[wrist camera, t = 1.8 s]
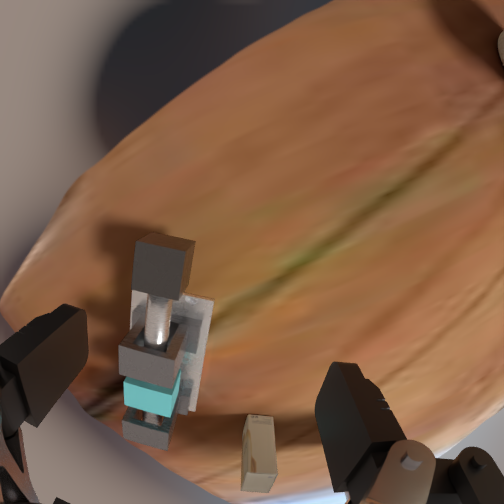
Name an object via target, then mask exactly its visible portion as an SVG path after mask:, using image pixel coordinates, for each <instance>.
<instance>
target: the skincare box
mask: <svg viewBox="0 0 504 504" xmlns="http://www.w3.org/2000/svg"><path fill="white" fill-rule="evenodd" d="M277 475H278V471H277V458H276V446H275V434H274V422H273V417H270V416H261V415H250V414H248V416H247V419H246V422H245V426H244V430H243V435H242V465H241V491H248V492H261V493H269V491H270V489H271V487H272V486H273V484H274V481H275V479H276V477H277Z"/></svg>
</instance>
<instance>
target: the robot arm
mask: <svg viewBox="0 0 504 504" xmlns="http://www.w3.org/2000/svg"><path fill="white" fill-rule="evenodd" d="M88 351H89V350H88V334H87V315H86V312H85V310H83V309H80V308H77V307H74V306H71V305H68V304H62V305H61V306H59V307H58V308H57V309H55V310H54V311H53V312H51V313H47V314H44V315H42V316H39V317H36V318H35V319H33V320H32V321H31V322H29V323H28V324H27V326H24V327H23V328H21V329H20V330H19V332H16V333H15V334H13V335H12V336H11V337H9V338H8V339H7V340H6V341H5V342H3V343H2V344H1V345H0V504H40V502H39V500H38V497H37V495H36V493H35V491H34V489H33V487H32V484H31V481H30V477H29V472H28V467H27V462H26V456H25V450H24V443H23V436H22V430H21V428H20V425H21V424H22V423H23V422H24V421H26V422H27V423H29V424H31V425H33V426H35V427H36V428H37V427H38V426H39V424H40V423H41V422H42V420H43V419H44V418H45V416H46V415H47V414H48V412H49V411H50V409H51V408H52V407H53V405H54V404H55V403H56V402H57V400H58V399H59V398H60V397H61V395H62V394H63V392H64V391H65V390H66V389H67V388H68V386H69V385H70V384H71V382H72V381H73V380H74V379H75V377H76V376H77V375H78V374H79V372H80V371H81V370H82V369H83V367H84V366H85V364H86V362H87V358H88ZM315 417H316V421H317V425H318V429H319V433H320V437H321V441H322V445H323V449H324V453H325V457H326V461H327V465H328V469H329V473H330V477H331V481H332V486H333V490H334V493H335V492H345V495H346V499H347V502H346V503H345V504H504V476H503V475H502V473H501V471H500V470H499V468H498V466H497V465H496V463H495V462H494V460H493V458H492V457H491V456H490V455H489V454H488V453H487V452H486V451H484V450H482V449H481V448H478V447H467V448H465V449H464V450H462V451H461V452H460V454H459V455H458V456H457V457H456V459H455V460H452V459H440V458H435V456H434V454H433V453H432V451H431V450H430V449H429V448H428V447H427V446H425V445H424V444H422V443H420V442H417V441H414V440H407V438H406V436H405V434H404V433H403V431H402V429H401V427H400V425H399V423H398V422H397V420H396V418H395V416H394V414H393V412H392V411H391V410H390V407H389V405H388V403H387V402H386V401H385V398H384V396H383V394H382V393H381V391H380V389H379V388H378V387H377V386H376V385H375V384H373V383H372V382H371V381H370V380H369V379H365V378H364V376H363V374H362V372H361V370H360V368H359V366H358V365H357V364H355V363H345V362H333V363H332V364H331V366H330V368H329V370H328V372H327V375H326V377H325V380H324V382H323V385H322V387H321V389H320V392H319V394H318V396H317V399H316V403H315ZM53 504H70V503H67V502H66V501H64V500H61V499H59V498H57V497H56V499H55V501H54V503H53Z"/></svg>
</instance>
